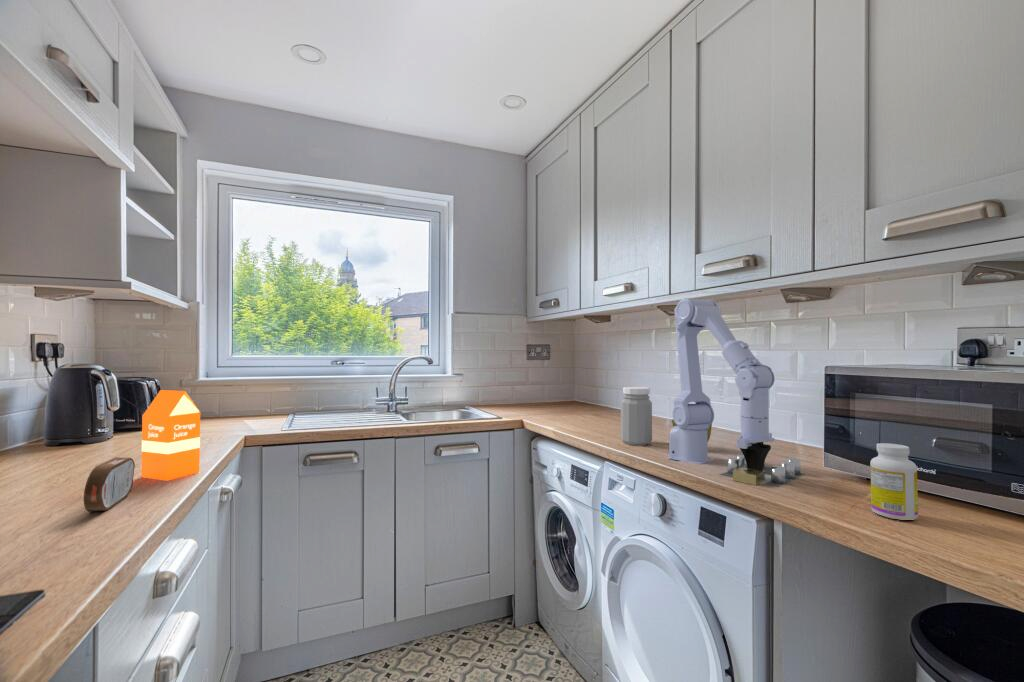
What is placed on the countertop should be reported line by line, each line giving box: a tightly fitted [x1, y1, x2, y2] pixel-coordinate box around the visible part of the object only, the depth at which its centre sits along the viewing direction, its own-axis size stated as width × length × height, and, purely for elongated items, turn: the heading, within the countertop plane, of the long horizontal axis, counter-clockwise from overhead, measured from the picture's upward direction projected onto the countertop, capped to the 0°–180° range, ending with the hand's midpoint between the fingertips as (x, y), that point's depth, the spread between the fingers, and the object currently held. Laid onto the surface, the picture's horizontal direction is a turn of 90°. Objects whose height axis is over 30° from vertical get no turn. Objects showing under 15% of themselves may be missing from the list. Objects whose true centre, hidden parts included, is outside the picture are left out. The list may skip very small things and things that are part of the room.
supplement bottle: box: [869, 442, 919, 519], centre depth 85 cm, size 7×7×13 cm
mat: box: [719, 465, 806, 488], centre depth 111 cm, size 13×17×1 cm
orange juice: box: [140, 389, 201, 481], centre depth 110 cm, size 8×9×20 cm
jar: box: [620, 386, 653, 446], centre depth 150 cm, size 10×10×18 cm
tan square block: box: [732, 467, 765, 486], centre depth 105 cm, size 5×5×2 cm
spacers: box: [727, 454, 802, 485], centre depth 112 cm, size 13×14×4 cm
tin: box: [83, 456, 136, 513], centre depth 89 cm, size 15×3×8 cm, turn 21°
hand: (755, 475), depth 107 cm, fingers closed
